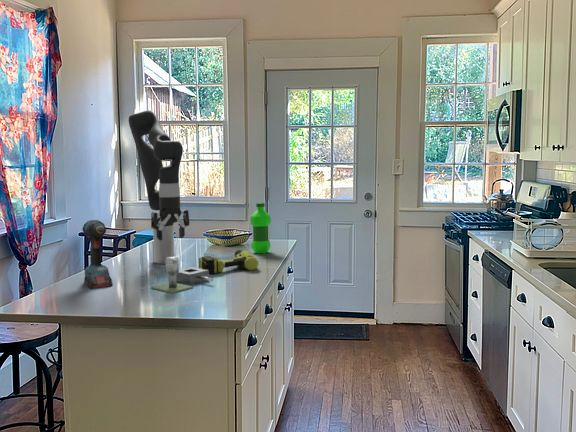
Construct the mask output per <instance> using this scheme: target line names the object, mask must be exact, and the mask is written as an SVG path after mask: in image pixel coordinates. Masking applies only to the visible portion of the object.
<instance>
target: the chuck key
mask: <svg viewBox="0 0 576 432" xmlns="http://www.w3.org/2000/svg"><path fill="white" fill-rule="evenodd" d="M179 270H180V269H179V256H178V257H177V256H174V257H167V258H166V264H165V273H166V274H168V283H169V288H175V287H177V283H178V282H177V273H178V272H179Z"/></svg>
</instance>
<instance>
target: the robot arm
mask: <svg viewBox="0 0 576 432" xmlns="http://www.w3.org/2000/svg"><path fill="white" fill-rule="evenodd" d="M128 125H129V128H130V131H131V132H130V133H131V134H132V138H133V141H134V143H135V147H136V151H137V156H138V160H139V165H140V169H141V173H142V177H143V179H144V184H145V188H146V193H147V200H148V205H149V208H150V209H151V210H152V212H151V219H150V222H151V223H150V228H151V229H153V230H152V231H153V233H152V234H153V235H152V236H153V237H152V238H153V241H152V243H151V244H152V262H154V264H159V265H161V264H163V265H164V264H165V265H166V258H167V257H175V232H174V231H175V229H174V226H175V225H174V223H176V224H177V225H178V226H179V228H178V235H179V238H180V239H184V237H185V235H186V232H185V228H186V227H189V226H190V216H189V210H187V209H182V210H181V191H180V189H181V188H180V187H181V186H180V177H179V175H180V174H179V173H180V172H179V170H180V166H181V162H182V156H183V154H184V148H183V145H182V143H181V142H180V141H178V140H171V137H170V136H169V135H168V133H166V132H165V131H164V129H163V126H162V125H161V123H160V120H159V119H158V117H157V115H156V114H155V112H154V111H152V110H151V109H150V110H149V109H148V110H144V111H140V112H137V113H133V114H131V115H130V116H129V117H128ZM146 135H147V139H148V143H149V144H150V145H149V144H148V143H147V142H146V141H145V140H144V139H143V136H146ZM163 161H171V162H170V164H169V165H166V166H164V165H163ZM158 181H159V186H158V190H157V189H156V185H157V183H158ZM155 211H159V212H155ZM181 216H182V219H183V220H182V219H181V218H180V217H181Z"/></svg>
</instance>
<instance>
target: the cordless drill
mask: <svg viewBox="0 0 576 432" xmlns="http://www.w3.org/2000/svg"><path fill="white" fill-rule="evenodd" d="M237 266H239V267H241V266H242V267H243V268H245V269H246V270H248V271H254V270H256V269H257V268H258V266H259V260H258V259H257V258H256V257H255V256H254V255H252V254H251V253H250V252H248V251H247V250H240V249H237V250H236V251H234V257H231V259H228V260H221V259H220V258H219V257H217V256H213V257H212V256H210V255H207V256H201V257H199V258H198V268H200V269H205V270H209V276H212V275H215V274H218V273H222V272H223V270H224V268H231V267H237Z"/></svg>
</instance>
